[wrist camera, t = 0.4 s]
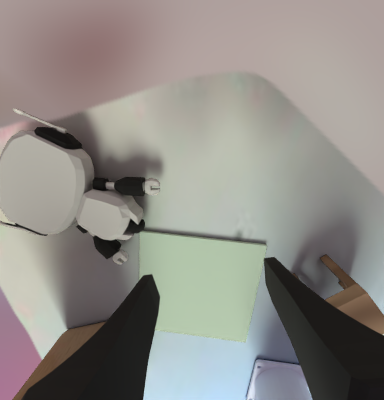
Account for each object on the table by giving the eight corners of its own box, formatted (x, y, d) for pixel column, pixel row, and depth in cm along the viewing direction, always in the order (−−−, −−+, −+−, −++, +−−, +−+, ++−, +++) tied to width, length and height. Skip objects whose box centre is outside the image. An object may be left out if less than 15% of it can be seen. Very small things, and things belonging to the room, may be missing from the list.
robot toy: (170, 174, 22) (40, 109, 20) (165, 183, 18) (-2, 102, 16) (131, 255, 26) (17, 207, 24) (119, 279, 21) (-23, 223, 19)
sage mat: (245, 339, 27) (245, 342, 27) (139, 325, 28) (138, 328, 27) (266, 244, 23) (267, 245, 22) (140, 230, 23) (139, 231, 23)
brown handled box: (347, 283, 23) (394, 329, 18) (310, 303, 24) (342, 352, 19) (326, 254, 22) (367, 292, 17) (288, 276, 24) (314, 319, 18)
